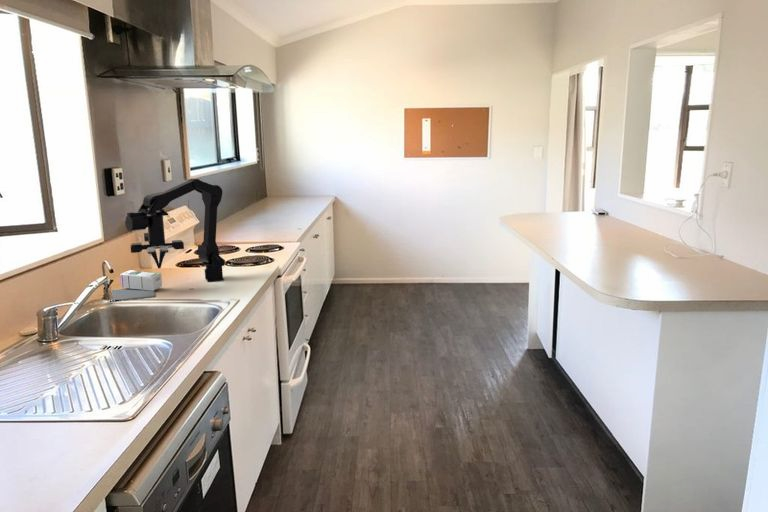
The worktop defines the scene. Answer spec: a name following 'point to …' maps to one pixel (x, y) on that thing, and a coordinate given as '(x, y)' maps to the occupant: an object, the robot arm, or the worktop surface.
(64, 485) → the worktop surface
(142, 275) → the syrup box
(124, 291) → the mat
